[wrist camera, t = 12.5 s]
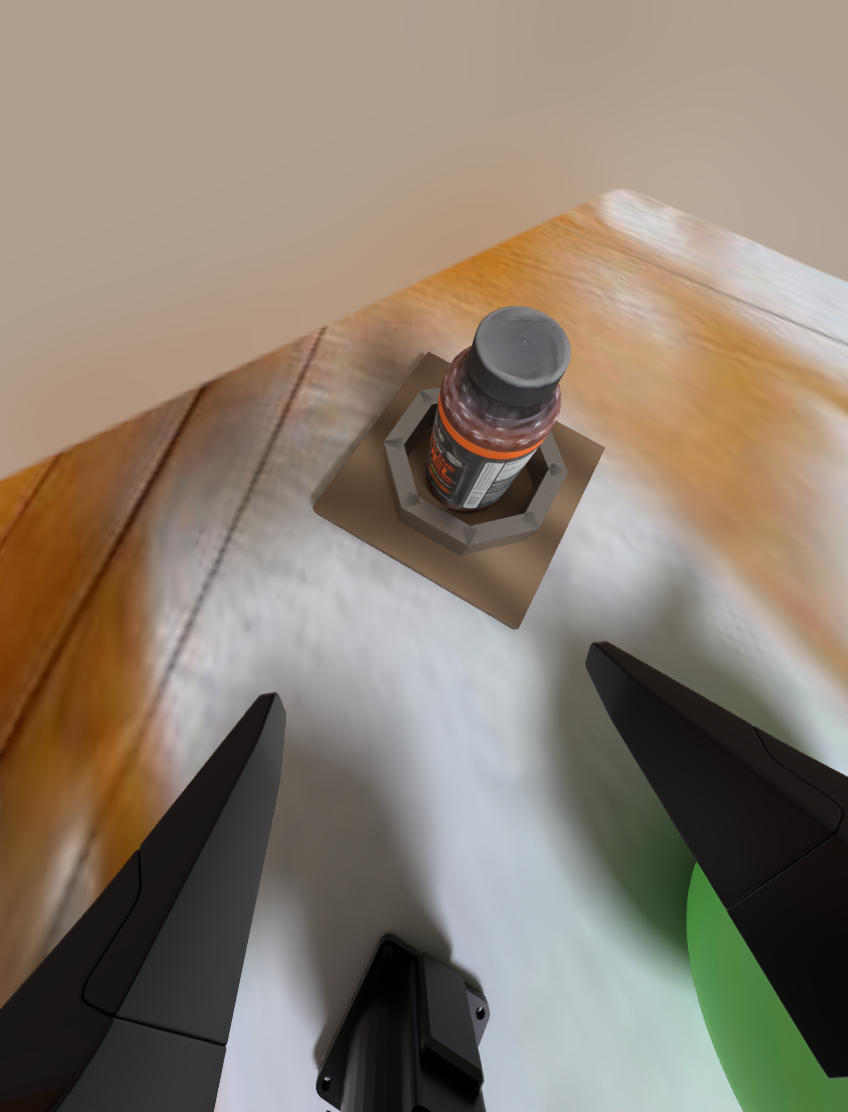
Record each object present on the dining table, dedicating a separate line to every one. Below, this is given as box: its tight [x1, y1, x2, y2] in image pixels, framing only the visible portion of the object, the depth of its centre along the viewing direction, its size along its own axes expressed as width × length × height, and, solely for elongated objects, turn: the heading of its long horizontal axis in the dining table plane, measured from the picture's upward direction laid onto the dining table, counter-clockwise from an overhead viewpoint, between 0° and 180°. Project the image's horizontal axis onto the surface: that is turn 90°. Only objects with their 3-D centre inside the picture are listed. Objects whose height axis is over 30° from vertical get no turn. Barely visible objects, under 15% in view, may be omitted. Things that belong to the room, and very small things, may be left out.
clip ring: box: [384, 388, 568, 556], centre depth 23 cm, size 12×12×2 cm
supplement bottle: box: [426, 306, 571, 512], centre depth 19 cm, size 6×6×11 cm
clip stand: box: [312, 352, 605, 629], centre depth 25 cm, size 16×16×1 cm
